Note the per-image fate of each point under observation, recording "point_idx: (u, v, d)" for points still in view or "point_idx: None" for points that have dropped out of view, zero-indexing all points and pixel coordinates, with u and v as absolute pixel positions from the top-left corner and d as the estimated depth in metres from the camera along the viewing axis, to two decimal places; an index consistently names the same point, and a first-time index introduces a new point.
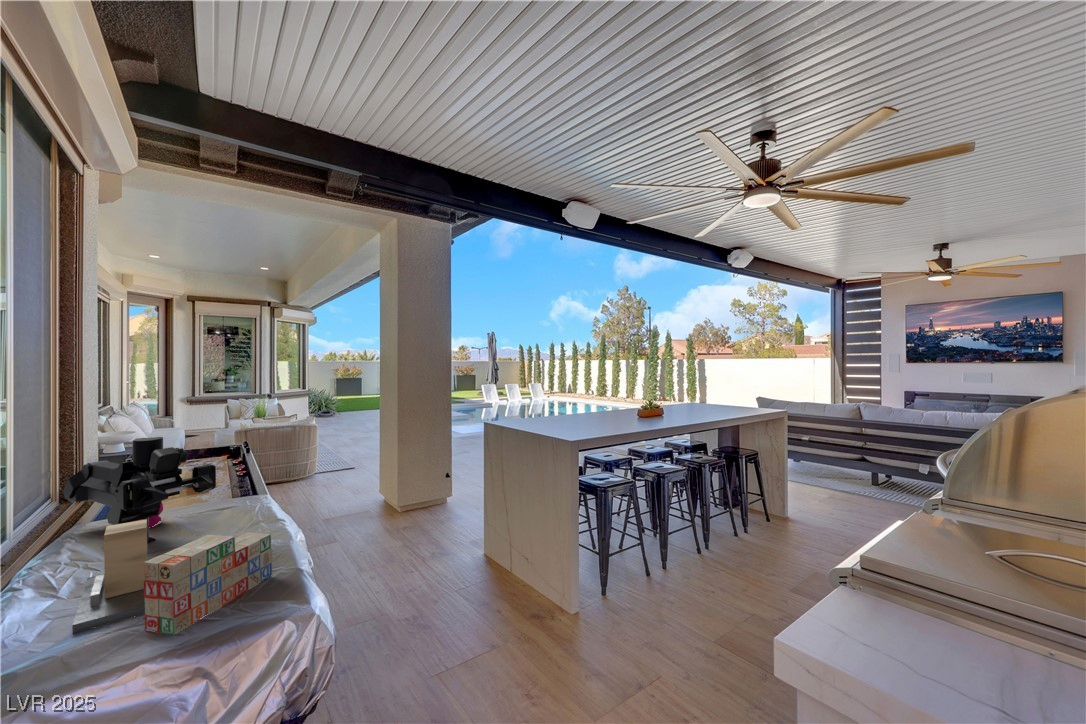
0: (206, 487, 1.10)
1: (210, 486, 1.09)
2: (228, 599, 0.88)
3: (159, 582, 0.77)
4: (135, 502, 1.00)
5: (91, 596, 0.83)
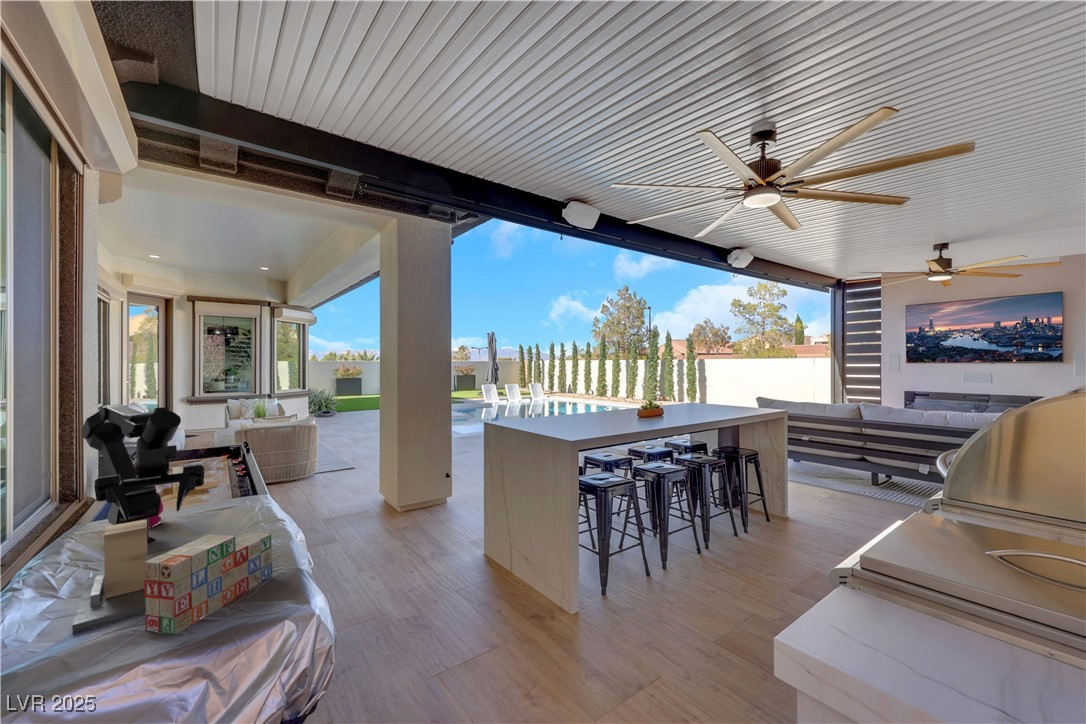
0: None
1: None
2: (229, 599, 0.88)
3: (160, 581, 0.78)
4: (109, 499, 0.99)
5: (91, 596, 0.83)
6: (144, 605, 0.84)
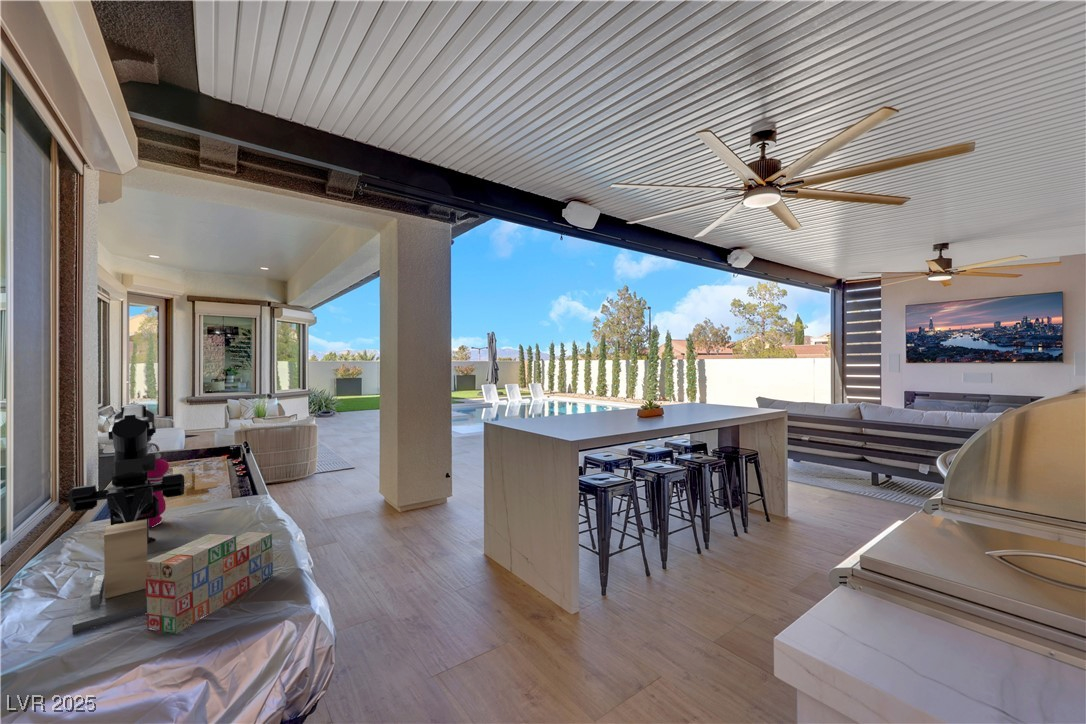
0: None
1: None
2: (229, 598, 0.88)
3: (161, 581, 0.78)
4: (110, 506, 0.99)
5: (91, 596, 0.83)
6: (144, 605, 0.84)
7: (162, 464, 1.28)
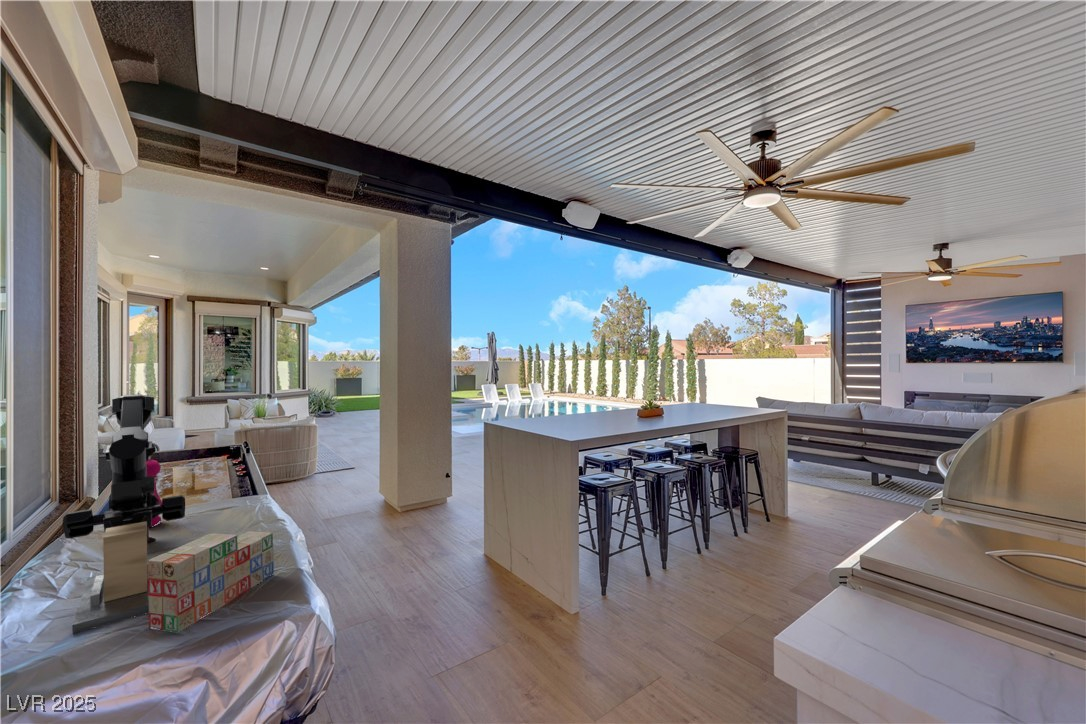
0: None
1: None
2: (231, 597, 0.88)
3: (163, 580, 0.78)
4: None
5: (91, 596, 0.83)
6: (144, 605, 0.84)
7: (153, 465, 1.27)
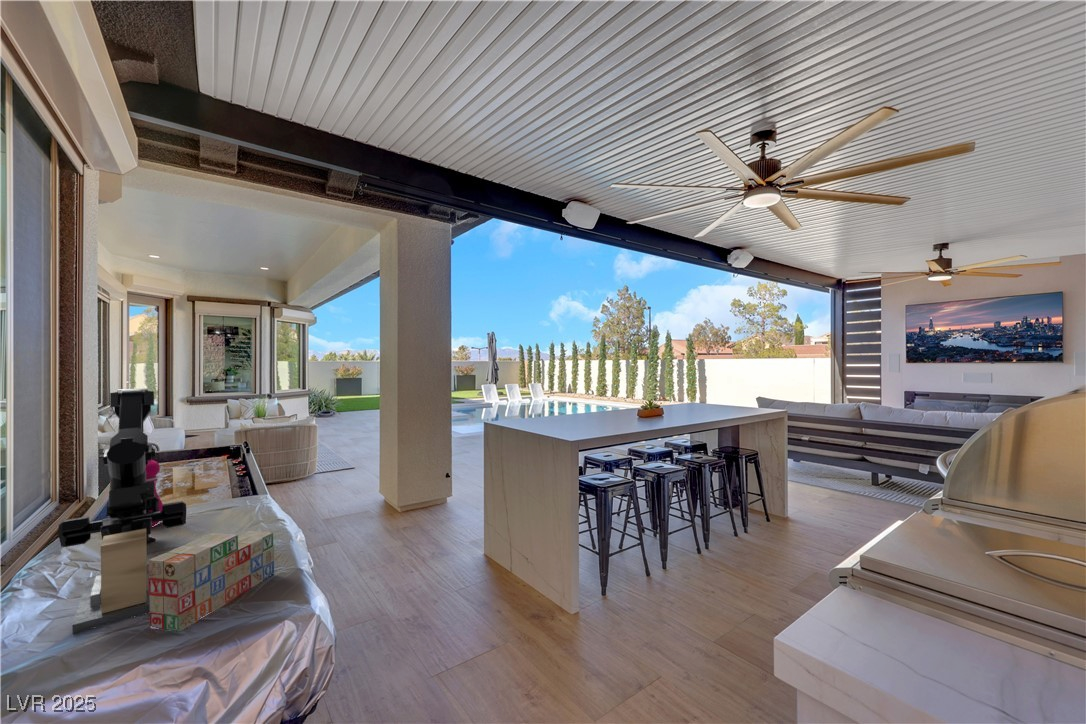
0: None
1: None
2: (231, 597, 0.88)
3: (164, 579, 0.78)
4: None
5: (91, 596, 0.83)
6: (144, 605, 0.84)
7: (152, 465, 1.27)
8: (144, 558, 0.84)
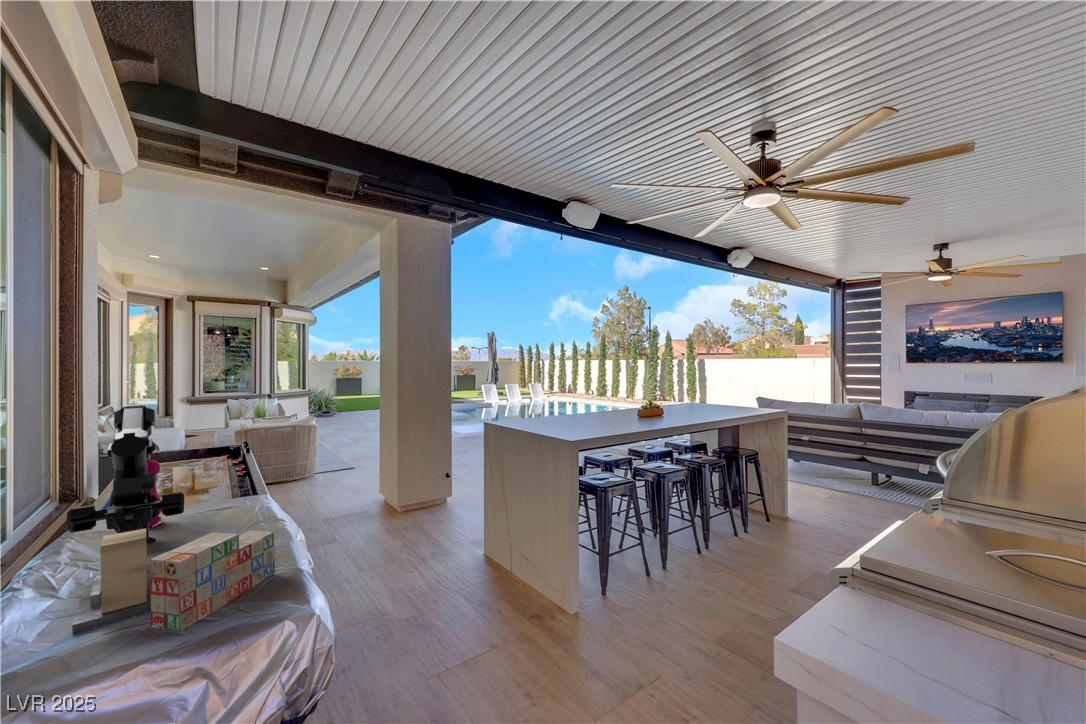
0: None
1: None
2: (232, 596, 0.89)
3: (165, 578, 0.79)
4: (109, 526, 0.98)
5: (91, 596, 0.83)
6: (144, 605, 0.84)
7: (152, 465, 1.27)
8: (144, 558, 0.84)
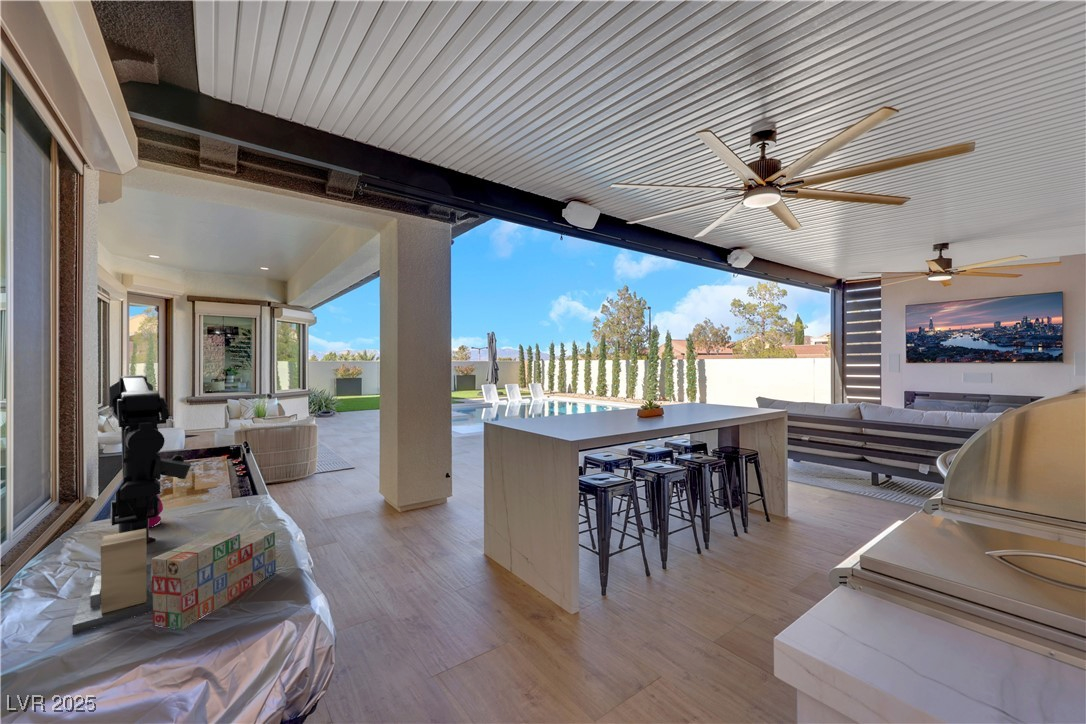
0: None
1: None
2: (234, 595, 0.89)
3: (167, 577, 0.79)
4: None
5: (91, 596, 0.83)
6: (144, 605, 0.84)
7: None
8: (144, 558, 0.84)
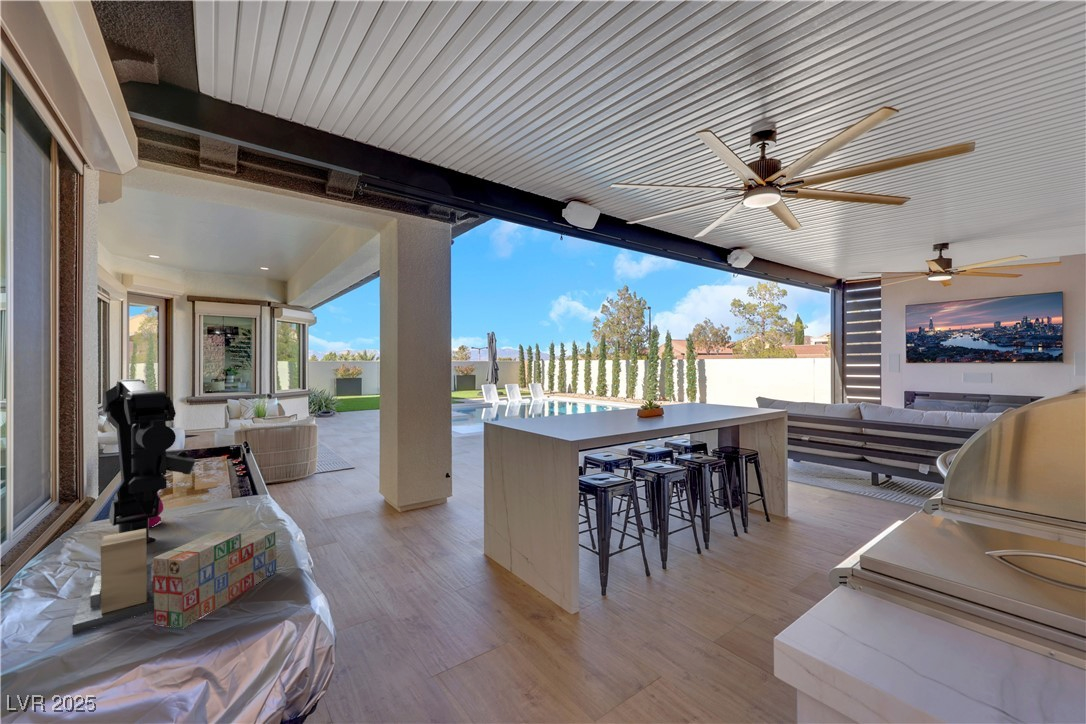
0: None
1: None
2: (234, 594, 0.89)
3: (168, 577, 0.79)
4: None
5: (91, 596, 0.83)
6: (144, 605, 0.84)
7: None
8: (144, 558, 0.84)
